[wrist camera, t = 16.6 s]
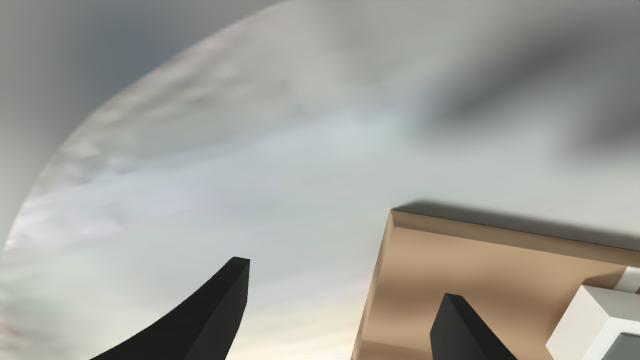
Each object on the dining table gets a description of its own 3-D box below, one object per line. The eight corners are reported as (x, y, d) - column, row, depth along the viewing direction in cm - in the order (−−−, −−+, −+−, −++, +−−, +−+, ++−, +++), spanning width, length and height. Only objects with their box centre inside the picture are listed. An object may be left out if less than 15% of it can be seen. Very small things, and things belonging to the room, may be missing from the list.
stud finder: (639, 361, 22) (675, 402, 19) (545, 345, 22) (568, 384, 20) (685, 302, 20) (731, 340, 17) (581, 284, 20) (612, 319, 17)
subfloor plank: (627, 410, 27) (647, 439, 25) (350, 361, 27) (350, 386, 25) (743, 268, 21) (782, 293, 19) (390, 209, 22) (394, 227, 20)
